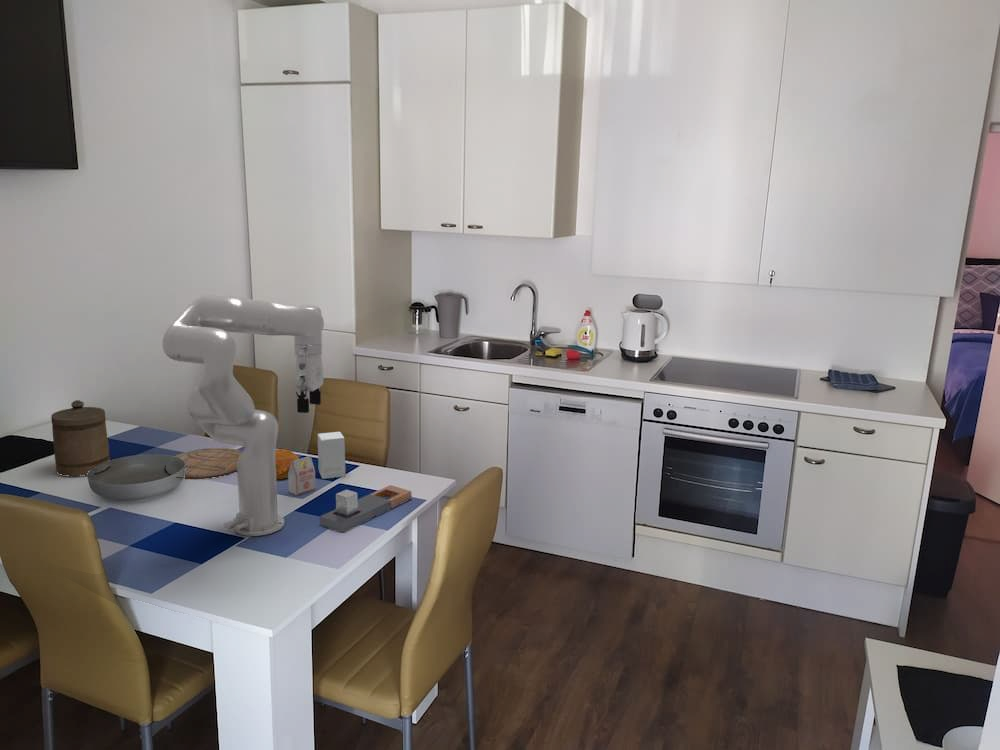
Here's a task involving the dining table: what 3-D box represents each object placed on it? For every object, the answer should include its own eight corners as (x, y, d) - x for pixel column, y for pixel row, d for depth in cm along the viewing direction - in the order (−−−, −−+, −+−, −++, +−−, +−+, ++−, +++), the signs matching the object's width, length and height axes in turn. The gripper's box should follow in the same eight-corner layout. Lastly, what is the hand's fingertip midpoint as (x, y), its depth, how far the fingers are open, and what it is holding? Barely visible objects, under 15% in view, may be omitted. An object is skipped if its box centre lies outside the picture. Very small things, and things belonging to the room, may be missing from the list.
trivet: (224, 483, 232) (224, 477, 232) (148, 476, 236) (148, 470, 236) (262, 456, 256) (262, 450, 256) (192, 450, 260) (192, 445, 260)
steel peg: (347, 525, 204) (346, 497, 202) (336, 522, 206) (335, 494, 204) (357, 520, 207) (357, 492, 206) (347, 517, 210) (346, 489, 208)
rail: (342, 532, 200) (341, 523, 199) (320, 525, 204) (319, 516, 204) (411, 499, 223) (411, 491, 222) (390, 493, 227) (390, 485, 226)
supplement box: (346, 476, 239) (345, 437, 236) (321, 479, 236) (320, 440, 233) (341, 468, 246) (340, 431, 243) (318, 471, 243) (316, 433, 240)
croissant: (246, 478, 242) (241, 455, 239) (290, 461, 252) (286, 438, 249) (269, 490, 232) (264, 466, 229) (314, 471, 242) (310, 448, 239)
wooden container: (104, 458, 250) (98, 392, 245) (115, 471, 239) (108, 403, 234) (52, 466, 241) (45, 399, 236) (61, 481, 230) (53, 410, 225)
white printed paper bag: (288, 492, 226) (287, 459, 223) (307, 485, 231) (306, 454, 229) (296, 495, 224) (295, 462, 221) (315, 489, 229) (314, 457, 226)
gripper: (310, 355, 209) (311, 416, 212) (331, 345, 226) (331, 401, 229) (283, 354, 209) (285, 415, 213) (306, 343, 226) (307, 400, 230)
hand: (309, 408), depth 221 cm, fingers open, 9 cm apart
